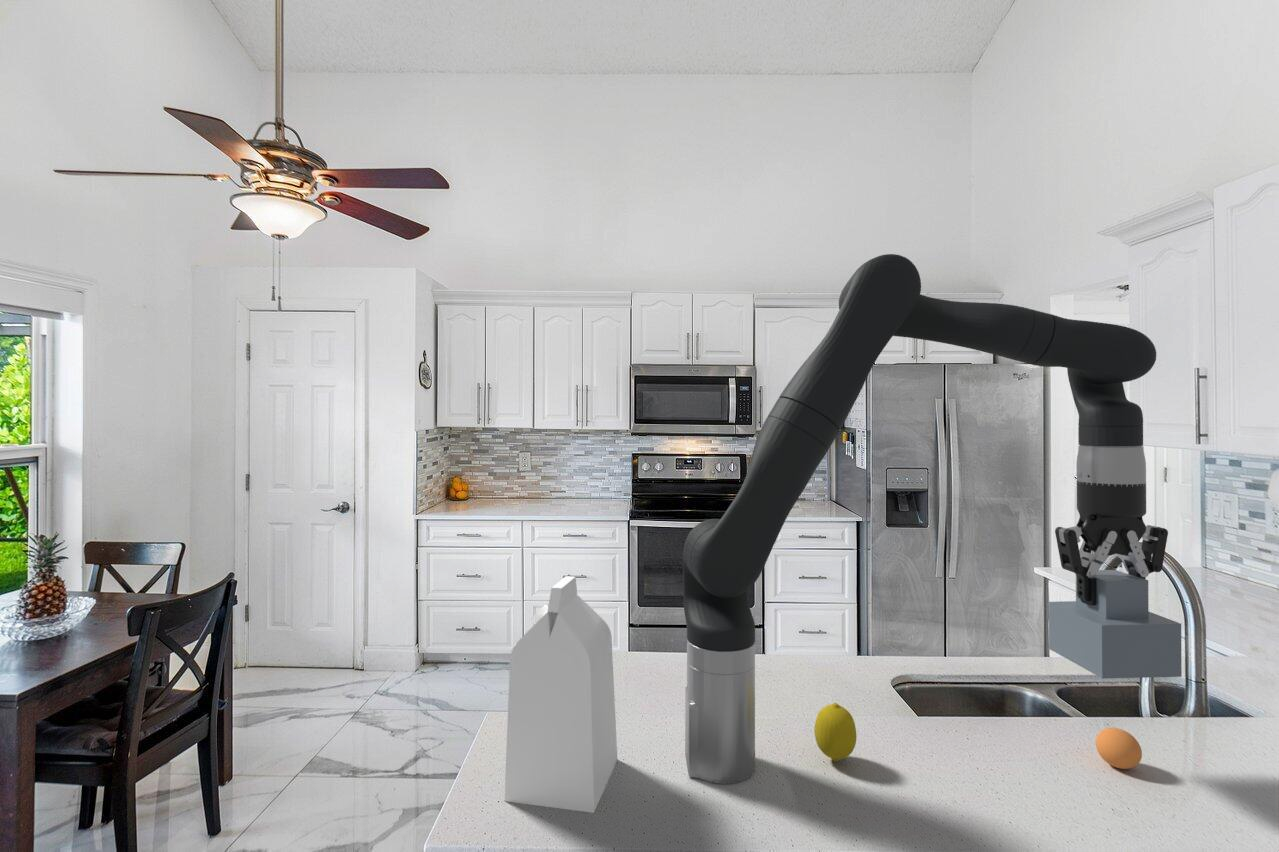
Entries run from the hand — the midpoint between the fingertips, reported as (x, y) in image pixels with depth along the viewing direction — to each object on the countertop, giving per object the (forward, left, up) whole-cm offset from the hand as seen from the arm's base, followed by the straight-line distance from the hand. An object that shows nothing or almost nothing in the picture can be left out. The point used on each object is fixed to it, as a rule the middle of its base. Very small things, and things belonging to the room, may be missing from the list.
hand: (1111, 603), depth 85 cm
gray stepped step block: (0, 0, -8) cm, 8 cm away
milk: (-74, -2, -23) cm, 77 cm away
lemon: (-37, +2, -23) cm, 43 cm away
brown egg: (+1, 0, -20) cm, 20 cm away
